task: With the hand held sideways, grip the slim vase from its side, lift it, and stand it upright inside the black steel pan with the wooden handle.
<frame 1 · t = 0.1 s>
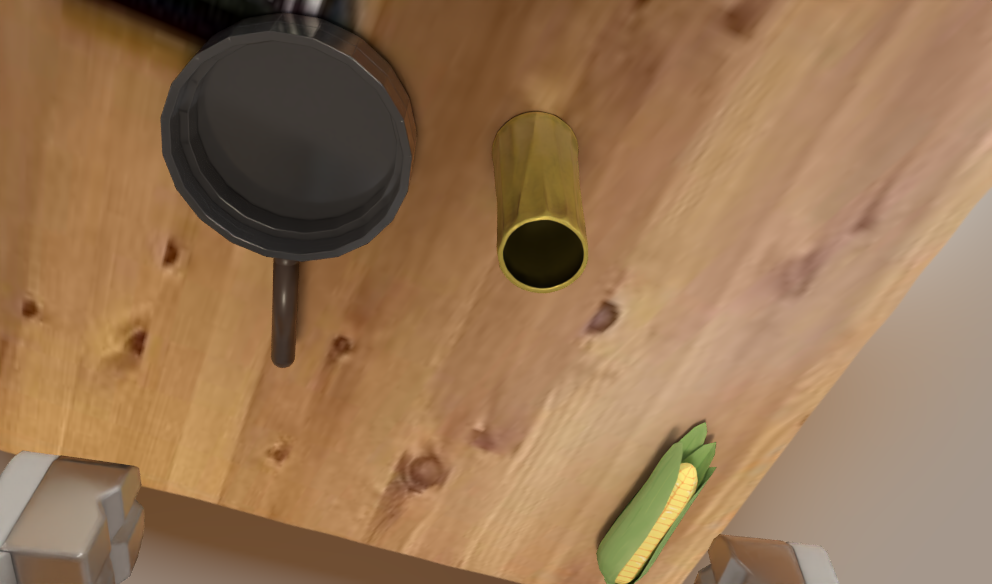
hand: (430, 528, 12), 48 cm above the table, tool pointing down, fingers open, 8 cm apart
pan: (300, 128, 60), on the table
vase: (535, 150, 61), on the table
edible corn: (652, 491, 80), on the table
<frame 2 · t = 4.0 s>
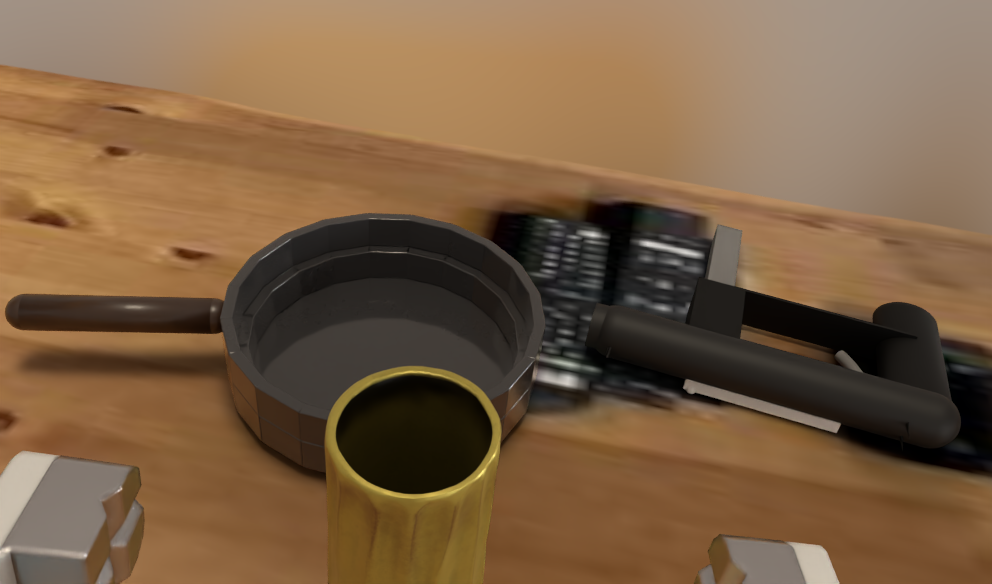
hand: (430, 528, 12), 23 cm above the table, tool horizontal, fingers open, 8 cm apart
pan: (385, 367, 47), on the table
gun: (763, 337, 52), on the table
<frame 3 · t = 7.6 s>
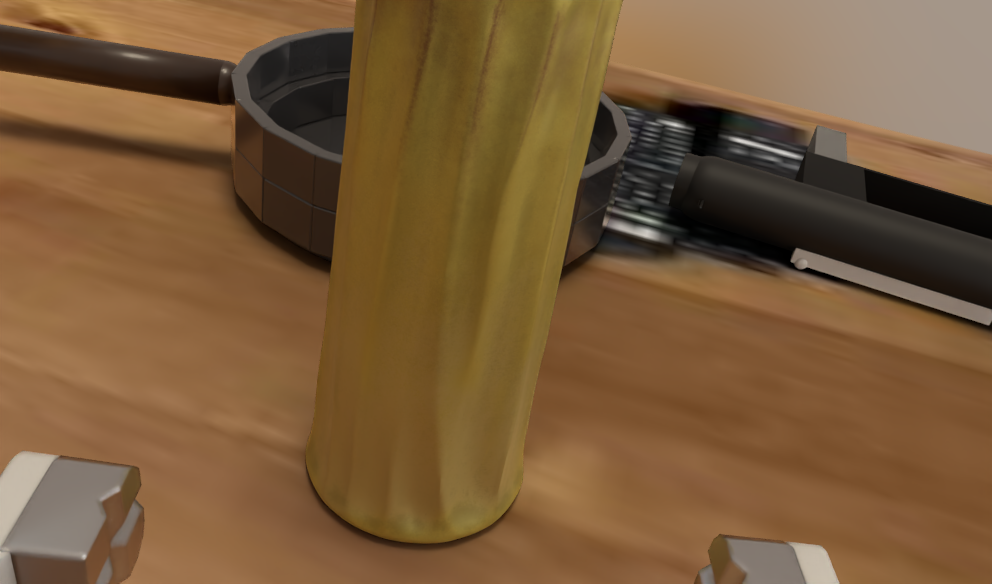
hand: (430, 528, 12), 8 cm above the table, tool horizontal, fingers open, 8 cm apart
pan: (424, 190, 38), on the table
gun: (879, 235, 43), on the table
vase: (415, 466, 24), on the table
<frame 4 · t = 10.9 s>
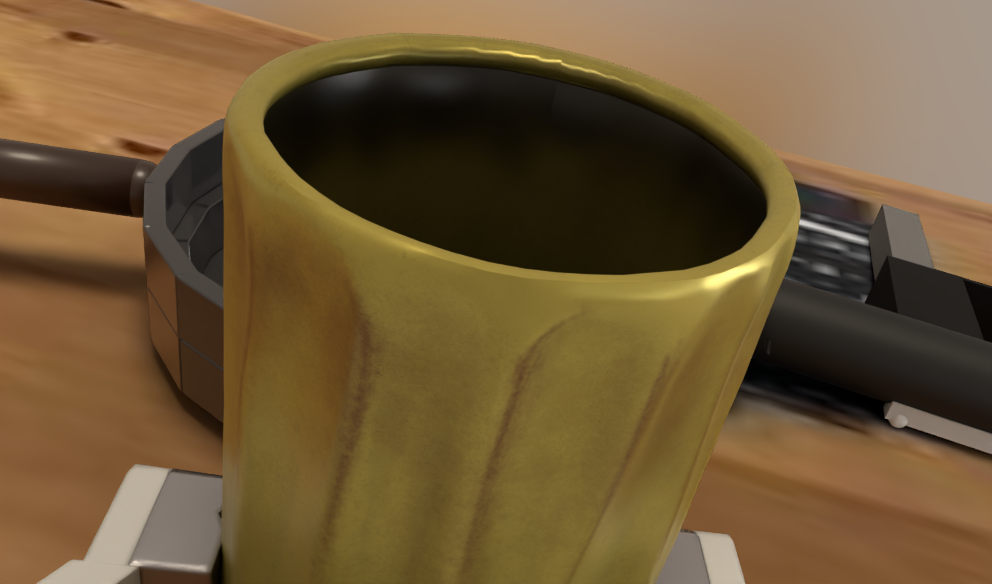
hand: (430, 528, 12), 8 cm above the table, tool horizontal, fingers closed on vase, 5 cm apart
pan: (407, 317, 29), on the table
gun: (978, 358, 34), on the table
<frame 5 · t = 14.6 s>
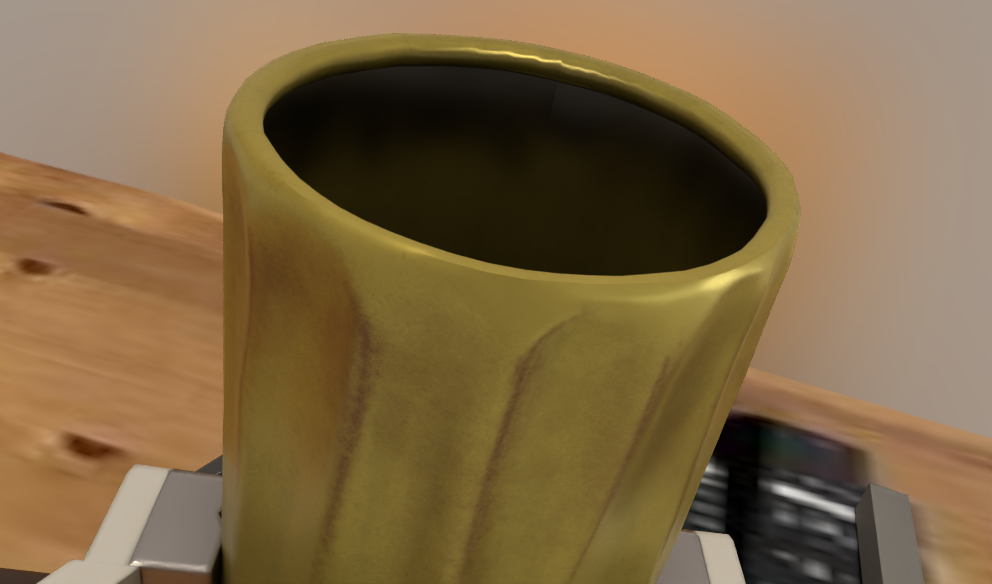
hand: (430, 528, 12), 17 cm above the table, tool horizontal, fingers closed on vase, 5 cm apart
when the fingers open (8 cm above the table, at t = 18.7 s): vase stays where it is, resting on pan.
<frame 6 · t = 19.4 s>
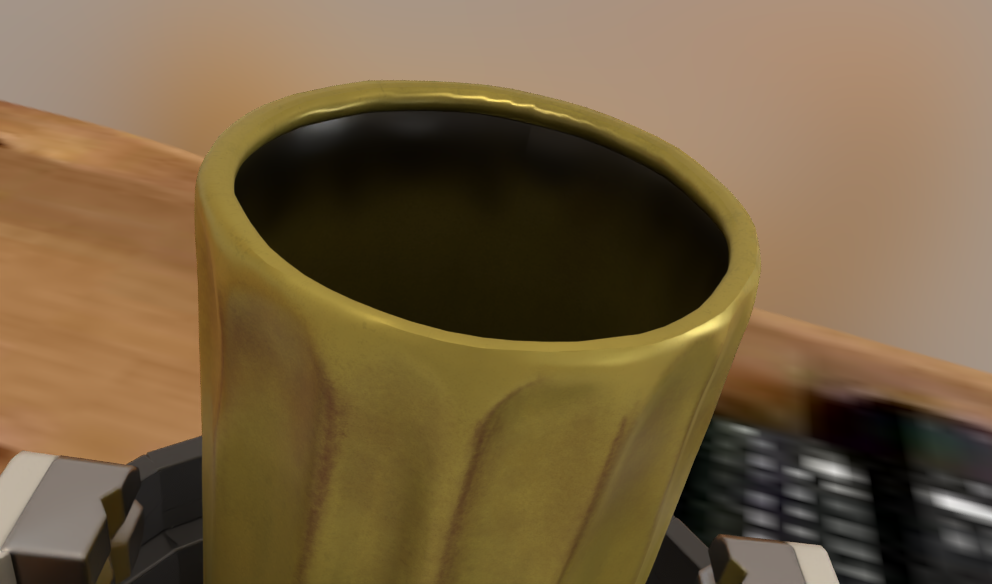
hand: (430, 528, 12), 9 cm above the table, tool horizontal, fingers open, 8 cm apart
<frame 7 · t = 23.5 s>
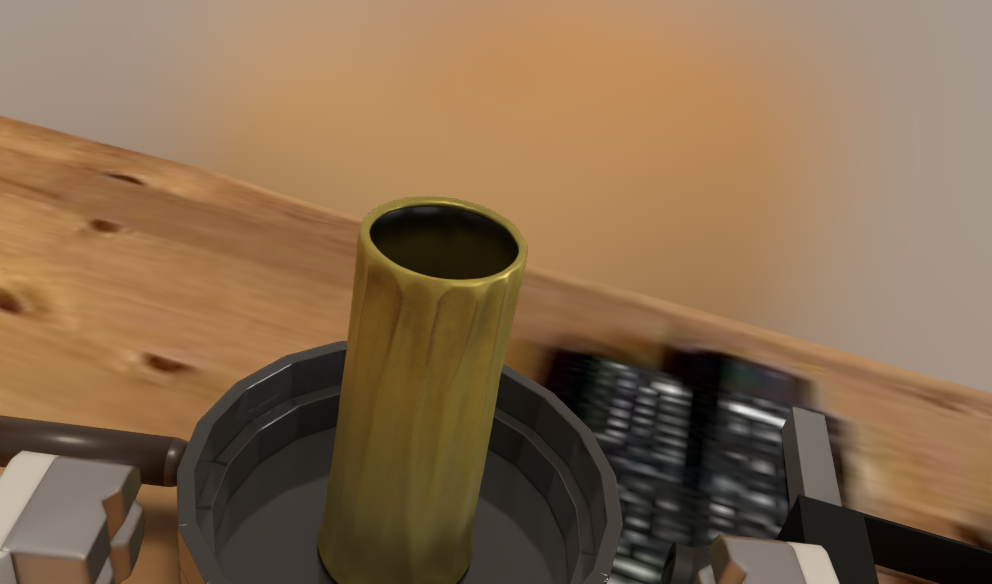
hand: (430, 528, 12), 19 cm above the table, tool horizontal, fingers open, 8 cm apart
pan: (395, 551, 35), on the table
gun: (880, 575, 38), on the table
vase: (395, 546, 34), resting on pan
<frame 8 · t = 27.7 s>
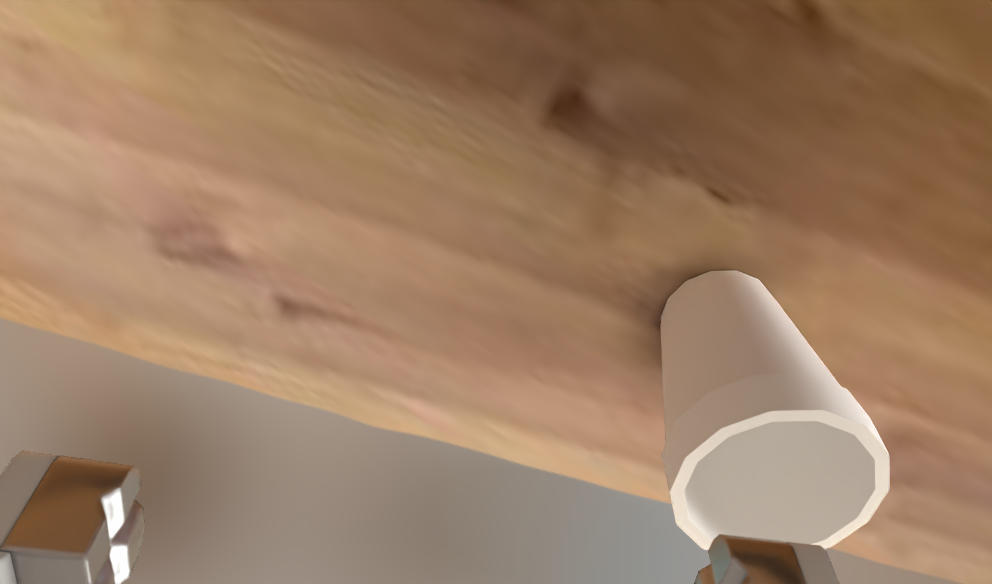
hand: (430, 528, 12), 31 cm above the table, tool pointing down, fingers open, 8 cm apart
foam cup: (716, 315, 48), on the table
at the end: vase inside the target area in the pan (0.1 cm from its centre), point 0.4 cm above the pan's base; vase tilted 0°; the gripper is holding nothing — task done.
